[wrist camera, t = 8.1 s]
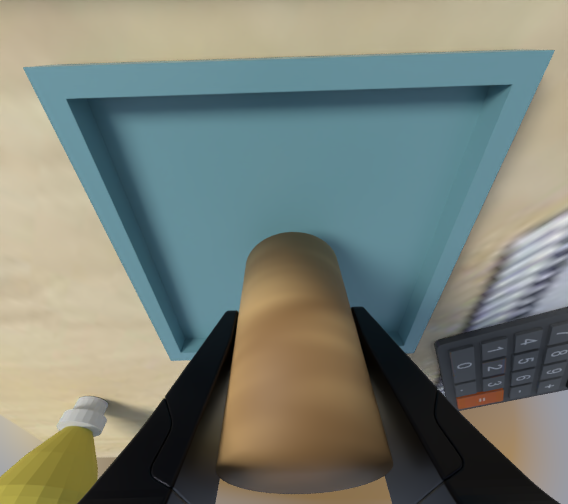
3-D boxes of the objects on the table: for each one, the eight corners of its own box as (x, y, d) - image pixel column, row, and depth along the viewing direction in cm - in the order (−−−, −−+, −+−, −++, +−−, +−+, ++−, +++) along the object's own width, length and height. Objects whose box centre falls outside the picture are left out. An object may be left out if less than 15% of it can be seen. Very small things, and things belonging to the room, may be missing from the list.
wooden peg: (342, 230, 11) (414, 435, 5) (333, 300, 13) (375, 491, 7) (240, 233, 11) (198, 443, 5) (250, 303, 13) (230, 495, 7)
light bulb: (49, 375, 20) (-98, 587, 12) (142, 394, 22) (66, 586, 14) (47, 410, 24) (-69, 592, 16) (127, 424, 26) (60, 592, 18)
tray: (517, 49, 9) (555, 50, 8) (404, 332, 18) (413, 353, 17) (57, 64, 9) (23, 67, 8) (178, 339, 18) (171, 360, 17)
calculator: (437, 348, 18) (728, 275, 15) (431, 336, 19) (706, 264, 15) (451, 414, 25) (654, 375, 21) (446, 404, 25) (641, 364, 22)
